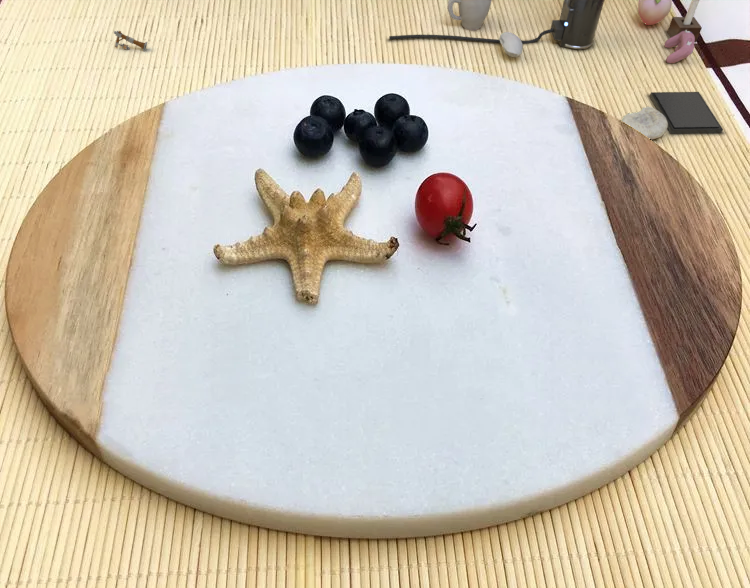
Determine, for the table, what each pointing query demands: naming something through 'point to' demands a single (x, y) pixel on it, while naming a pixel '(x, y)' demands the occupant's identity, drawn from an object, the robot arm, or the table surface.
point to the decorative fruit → (653, 10)
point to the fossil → (647, 122)
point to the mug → (470, 12)
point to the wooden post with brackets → (129, 39)
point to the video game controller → (680, 46)
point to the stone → (511, 44)
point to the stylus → (691, 12)
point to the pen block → (684, 27)
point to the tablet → (685, 112)
